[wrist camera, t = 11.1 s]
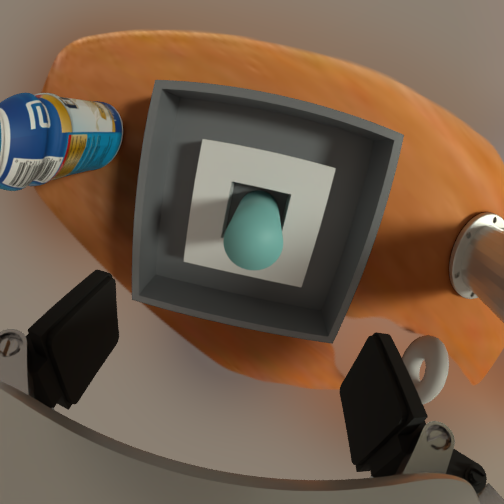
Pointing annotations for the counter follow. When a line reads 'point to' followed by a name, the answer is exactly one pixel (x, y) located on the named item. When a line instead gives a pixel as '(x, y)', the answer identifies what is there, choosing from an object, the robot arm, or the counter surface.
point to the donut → (427, 366)
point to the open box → (252, 179)
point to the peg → (254, 232)
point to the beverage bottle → (54, 138)
